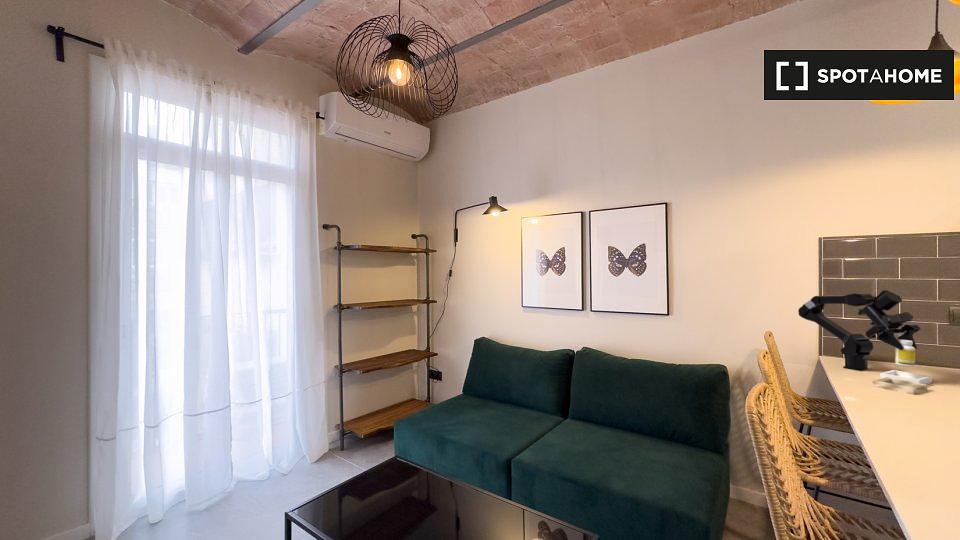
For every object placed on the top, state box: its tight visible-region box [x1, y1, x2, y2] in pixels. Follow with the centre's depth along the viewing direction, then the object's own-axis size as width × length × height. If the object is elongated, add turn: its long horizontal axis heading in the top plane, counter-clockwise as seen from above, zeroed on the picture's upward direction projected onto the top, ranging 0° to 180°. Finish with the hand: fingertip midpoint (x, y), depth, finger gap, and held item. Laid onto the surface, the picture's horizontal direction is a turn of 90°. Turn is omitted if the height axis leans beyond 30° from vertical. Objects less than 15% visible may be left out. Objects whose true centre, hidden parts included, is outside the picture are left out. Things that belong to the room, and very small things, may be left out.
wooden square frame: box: [872, 377, 928, 395], centre depth 147 cm, size 11×11×2 cm
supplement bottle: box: [894, 339, 916, 367], centre depth 155 cm, size 5×5×10 cm
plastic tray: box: [879, 369, 933, 386], centre depth 155 cm, size 11×11×2 cm
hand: (909, 349), depth 154 cm, fingers closed on supplement bottle, 5 cm apart
